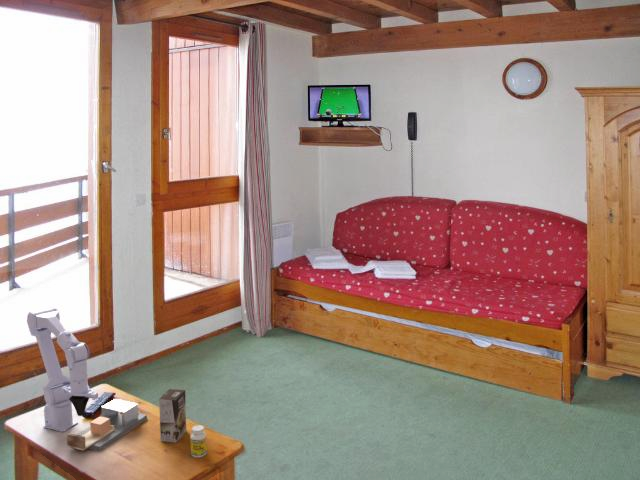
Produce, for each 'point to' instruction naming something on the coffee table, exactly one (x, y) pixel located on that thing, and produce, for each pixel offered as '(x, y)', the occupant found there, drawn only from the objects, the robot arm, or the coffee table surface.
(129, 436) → the coffee table surface
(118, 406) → the tunnel
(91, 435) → the sled
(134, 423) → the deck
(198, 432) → the supplement bottle
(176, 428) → the coffee box
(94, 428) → the block
